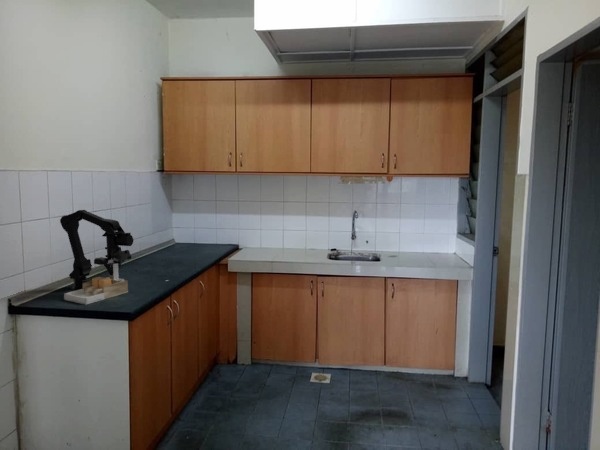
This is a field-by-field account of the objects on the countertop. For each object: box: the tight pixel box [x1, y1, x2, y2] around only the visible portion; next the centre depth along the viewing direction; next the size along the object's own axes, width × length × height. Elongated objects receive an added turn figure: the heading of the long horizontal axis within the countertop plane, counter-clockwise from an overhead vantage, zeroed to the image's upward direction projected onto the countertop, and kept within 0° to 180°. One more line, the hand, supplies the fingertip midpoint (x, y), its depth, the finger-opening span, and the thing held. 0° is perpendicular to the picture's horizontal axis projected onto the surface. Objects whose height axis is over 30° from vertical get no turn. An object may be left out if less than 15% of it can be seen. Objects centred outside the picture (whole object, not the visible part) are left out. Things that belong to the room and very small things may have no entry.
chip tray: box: [63, 289, 105, 306], centre depth 208 cm, size 16×10×3 cm, turn 62°
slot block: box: [83, 276, 129, 300], centre depth 218 cm, size 16×14×6 cm
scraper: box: [108, 262, 125, 284], centre depth 222 cm, size 10×4×10 cm, turn 62°
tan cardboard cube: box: [99, 277, 111, 288], centre depth 215 cm, size 4×4×4 cm
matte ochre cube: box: [91, 276, 105, 287], centre depth 217 cm, size 4×4×4 cm
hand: (114, 274), depth 223 cm, fingers closed on scraper, 3 cm apart
